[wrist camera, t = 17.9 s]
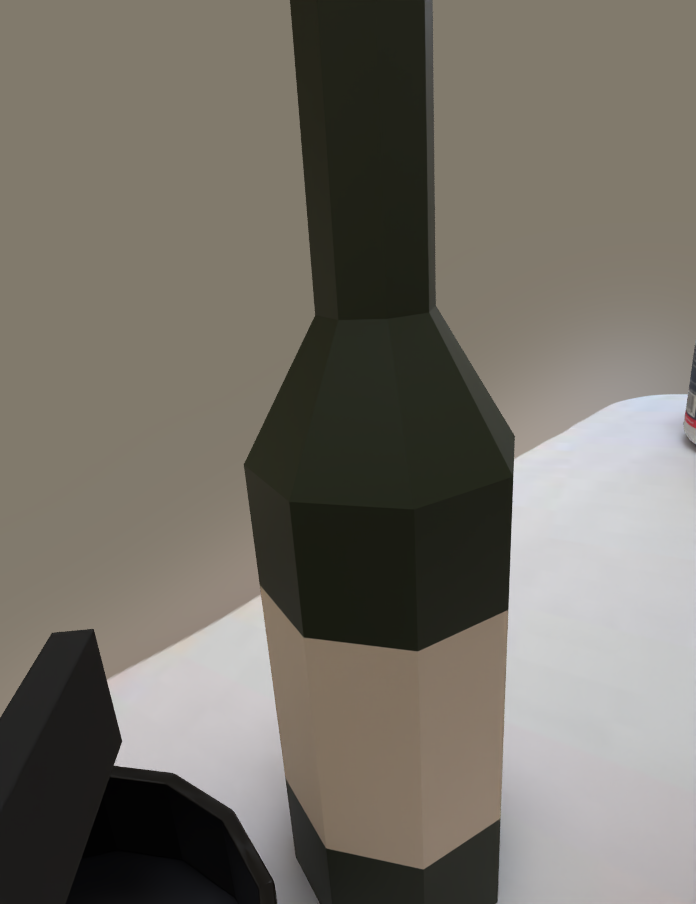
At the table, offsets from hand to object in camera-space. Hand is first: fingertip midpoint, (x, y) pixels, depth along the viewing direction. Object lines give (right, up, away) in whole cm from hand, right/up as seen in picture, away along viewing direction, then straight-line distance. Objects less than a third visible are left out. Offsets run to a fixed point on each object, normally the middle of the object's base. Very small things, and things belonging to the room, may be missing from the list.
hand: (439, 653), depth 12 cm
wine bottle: (0, -12, +12) cm, 17 cm away
